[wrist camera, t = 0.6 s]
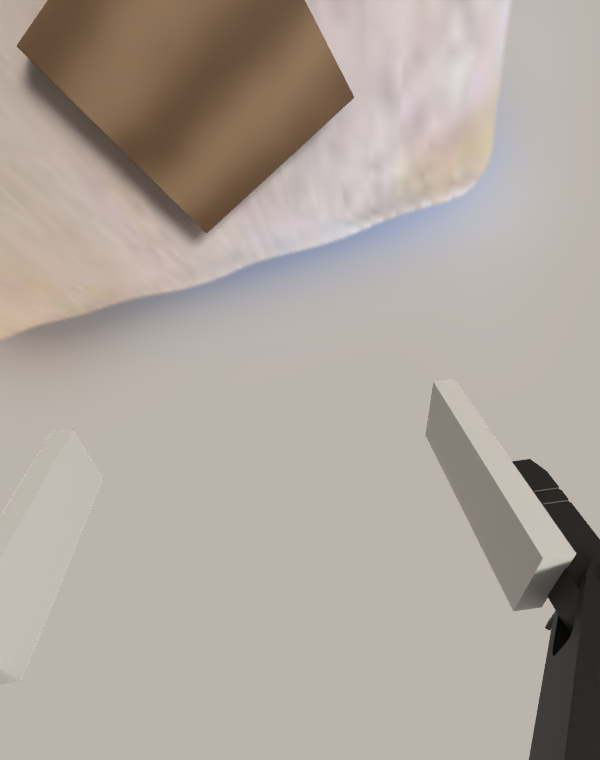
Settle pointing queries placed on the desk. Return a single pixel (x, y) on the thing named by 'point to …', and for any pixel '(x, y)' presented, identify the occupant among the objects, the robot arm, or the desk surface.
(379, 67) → the desk surface
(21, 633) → the robot arm
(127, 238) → the desk surface
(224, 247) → the desk surface
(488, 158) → the desk surface
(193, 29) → the walnut stand
